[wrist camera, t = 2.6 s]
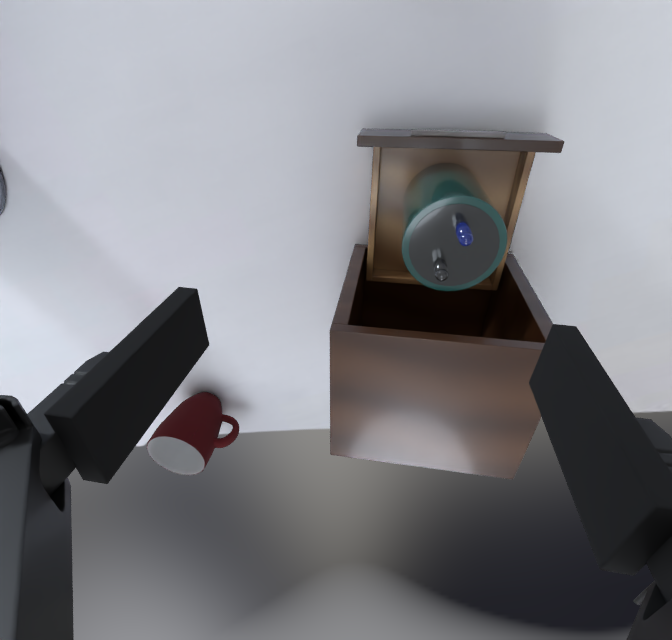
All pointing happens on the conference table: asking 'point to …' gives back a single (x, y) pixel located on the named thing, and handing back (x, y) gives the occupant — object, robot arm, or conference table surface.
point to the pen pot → (450, 229)
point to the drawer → (432, 148)
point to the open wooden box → (435, 372)
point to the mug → (191, 435)
